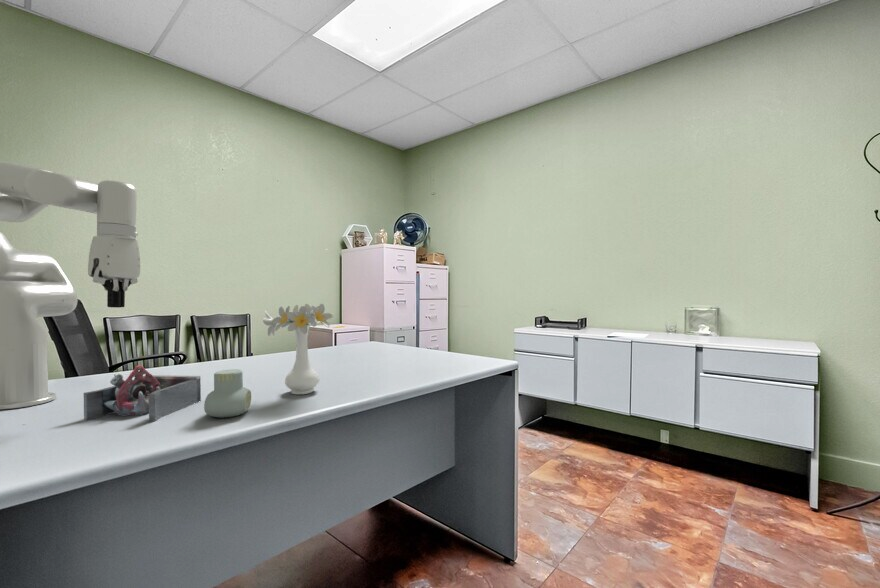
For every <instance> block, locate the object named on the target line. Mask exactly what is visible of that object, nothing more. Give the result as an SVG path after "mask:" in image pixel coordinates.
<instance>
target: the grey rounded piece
mask: <svg viewBox="0 0 880 588" xmlns="http://www.w3.org/2000/svg"><path fill="white" fill-rule="evenodd" d="M243 377H244V376H243V370H241V369H234V368H229V369H222V370H218V371H215V372H214V373H213V390H211V391H210V392H209V393H207V395H206V397H205V399H204V404H203V405H204V406H203V409H204V412H205V414H207V415H209V416H210V417H214V418H219V419H221V418H224V417H225V418H231V417H237V416H241V415H242V414H244V413H246V412H247V411H248V410H249V409H250V406H251V402H252V392H251V390H250V389H249V388H247V387H244V384H243V381H244V379H243ZM240 414H241V415H240Z"/></svg>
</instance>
